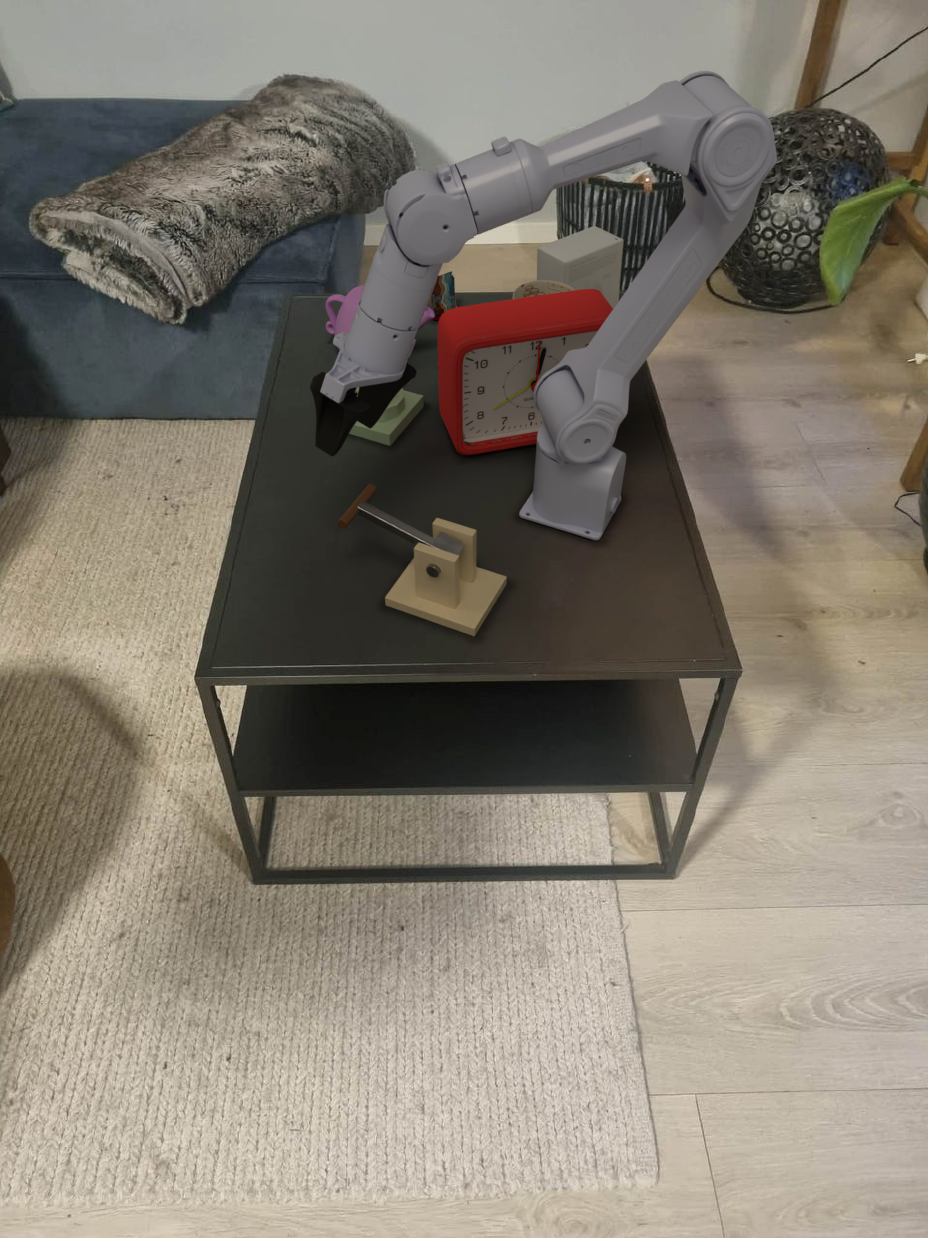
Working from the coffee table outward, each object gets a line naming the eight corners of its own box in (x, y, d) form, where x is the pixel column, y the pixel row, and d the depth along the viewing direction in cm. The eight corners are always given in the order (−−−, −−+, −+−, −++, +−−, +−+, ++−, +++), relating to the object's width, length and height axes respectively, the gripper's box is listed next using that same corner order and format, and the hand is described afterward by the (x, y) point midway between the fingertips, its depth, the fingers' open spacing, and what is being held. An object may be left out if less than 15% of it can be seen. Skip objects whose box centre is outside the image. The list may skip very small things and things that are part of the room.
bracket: (385, 605, 95) (380, 549, 89) (420, 556, 100) (418, 500, 94) (474, 637, 92) (475, 581, 86) (506, 584, 97) (509, 528, 91)
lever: (335, 529, 91) (338, 513, 90) (365, 494, 95) (369, 477, 93) (442, 586, 90) (447, 571, 88) (468, 547, 94) (474, 532, 92)
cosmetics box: (589, 293, 137) (594, 222, 129) (618, 311, 133) (626, 239, 126) (533, 316, 133) (535, 244, 125) (562, 335, 129) (566, 262, 122)
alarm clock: (435, 416, 117) (432, 300, 105) (585, 392, 120) (598, 276, 108) (455, 463, 110) (454, 344, 99) (613, 436, 114) (630, 318, 102)
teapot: (339, 326, 131) (332, 263, 124) (443, 338, 129) (442, 274, 122) (316, 367, 124) (308, 302, 117) (426, 379, 122) (424, 314, 115)
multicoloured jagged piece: (393, 241, 134) (429, 231, 135) (399, 288, 139) (434, 277, 140) (427, 278, 126) (466, 266, 128) (432, 325, 132) (469, 314, 133)
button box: (423, 406, 118) (423, 382, 115) (390, 446, 113) (388, 422, 110) (368, 391, 120) (366, 367, 118) (333, 429, 115) (330, 405, 112)
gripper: (388, 273, 89) (346, 391, 98) (310, 310, 78) (271, 440, 86) (450, 310, 89) (403, 426, 97) (381, 353, 77) (334, 480, 86)
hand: (345, 436), depth 92 cm, fingers open, 7 cm apart
